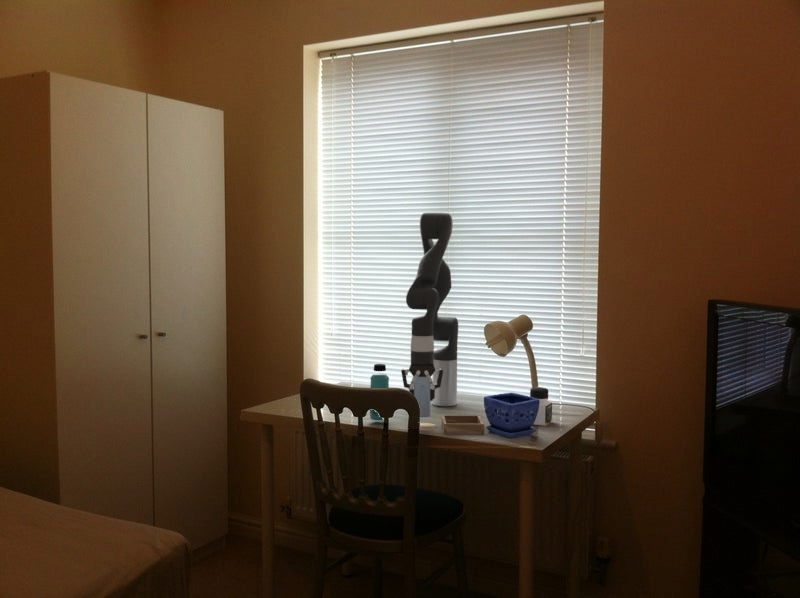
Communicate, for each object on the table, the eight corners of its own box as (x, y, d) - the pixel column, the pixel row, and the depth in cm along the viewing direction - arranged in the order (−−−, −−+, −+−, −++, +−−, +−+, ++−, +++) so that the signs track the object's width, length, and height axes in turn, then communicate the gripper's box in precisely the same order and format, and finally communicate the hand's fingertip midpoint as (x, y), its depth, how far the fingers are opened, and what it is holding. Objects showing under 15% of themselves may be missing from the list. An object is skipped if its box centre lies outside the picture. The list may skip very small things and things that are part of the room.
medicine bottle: (545, 426, 242) (546, 390, 241) (525, 423, 245) (525, 388, 244) (552, 421, 248) (552, 387, 247) (532, 419, 251) (532, 385, 250)
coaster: (406, 424, 243) (406, 422, 243) (436, 424, 243) (436, 422, 243) (406, 431, 233) (406, 430, 233) (437, 431, 233) (437, 430, 233)
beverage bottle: (378, 419, 250) (378, 361, 248) (393, 422, 245) (393, 364, 244) (365, 423, 245) (365, 364, 243) (380, 426, 240) (380, 366, 239)
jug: (430, 413, 241) (430, 374, 240) (431, 418, 233) (431, 378, 232) (413, 413, 241) (413, 374, 240) (413, 418, 233) (413, 378, 232)
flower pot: (541, 435, 229) (541, 398, 228) (510, 442, 221) (511, 403, 221) (511, 427, 240) (512, 391, 239) (481, 433, 232) (481, 396, 231)
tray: (441, 425, 241) (441, 415, 241) (479, 425, 242) (479, 415, 241) (444, 435, 229) (444, 424, 229) (483, 435, 229) (484, 424, 229)
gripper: (443, 347, 240) (443, 398, 241) (400, 347, 240) (399, 398, 241) (445, 350, 233) (444, 402, 234) (400, 350, 233) (400, 402, 234)
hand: (421, 400), depth 238 cm, fingers closed on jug, 5 cm apart
